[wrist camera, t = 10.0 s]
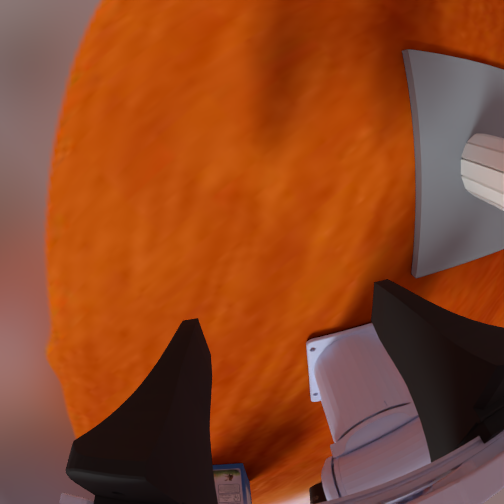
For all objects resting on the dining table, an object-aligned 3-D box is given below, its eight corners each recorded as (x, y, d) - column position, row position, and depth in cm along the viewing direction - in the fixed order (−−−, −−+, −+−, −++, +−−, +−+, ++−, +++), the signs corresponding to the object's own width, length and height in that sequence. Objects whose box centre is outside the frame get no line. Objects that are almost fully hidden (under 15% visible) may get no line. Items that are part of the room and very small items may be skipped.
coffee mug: (326, 491, 48) (335, 526, 39) (296, 493, 45) (303, 531, 36) (362, 471, 44) (374, 509, 35) (330, 473, 41) (342, 516, 32)
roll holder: (505, 243, 23) (525, 256, 20) (411, 273, 23) (431, 294, 20) (509, 73, 15) (533, 74, 12) (401, 50, 15) (429, 44, 12)
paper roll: (496, 192, 19) (538, 213, 14) (459, 199, 19) (506, 223, 14) (497, 134, 17) (544, 147, 12) (460, 133, 17) (511, 145, 12)
